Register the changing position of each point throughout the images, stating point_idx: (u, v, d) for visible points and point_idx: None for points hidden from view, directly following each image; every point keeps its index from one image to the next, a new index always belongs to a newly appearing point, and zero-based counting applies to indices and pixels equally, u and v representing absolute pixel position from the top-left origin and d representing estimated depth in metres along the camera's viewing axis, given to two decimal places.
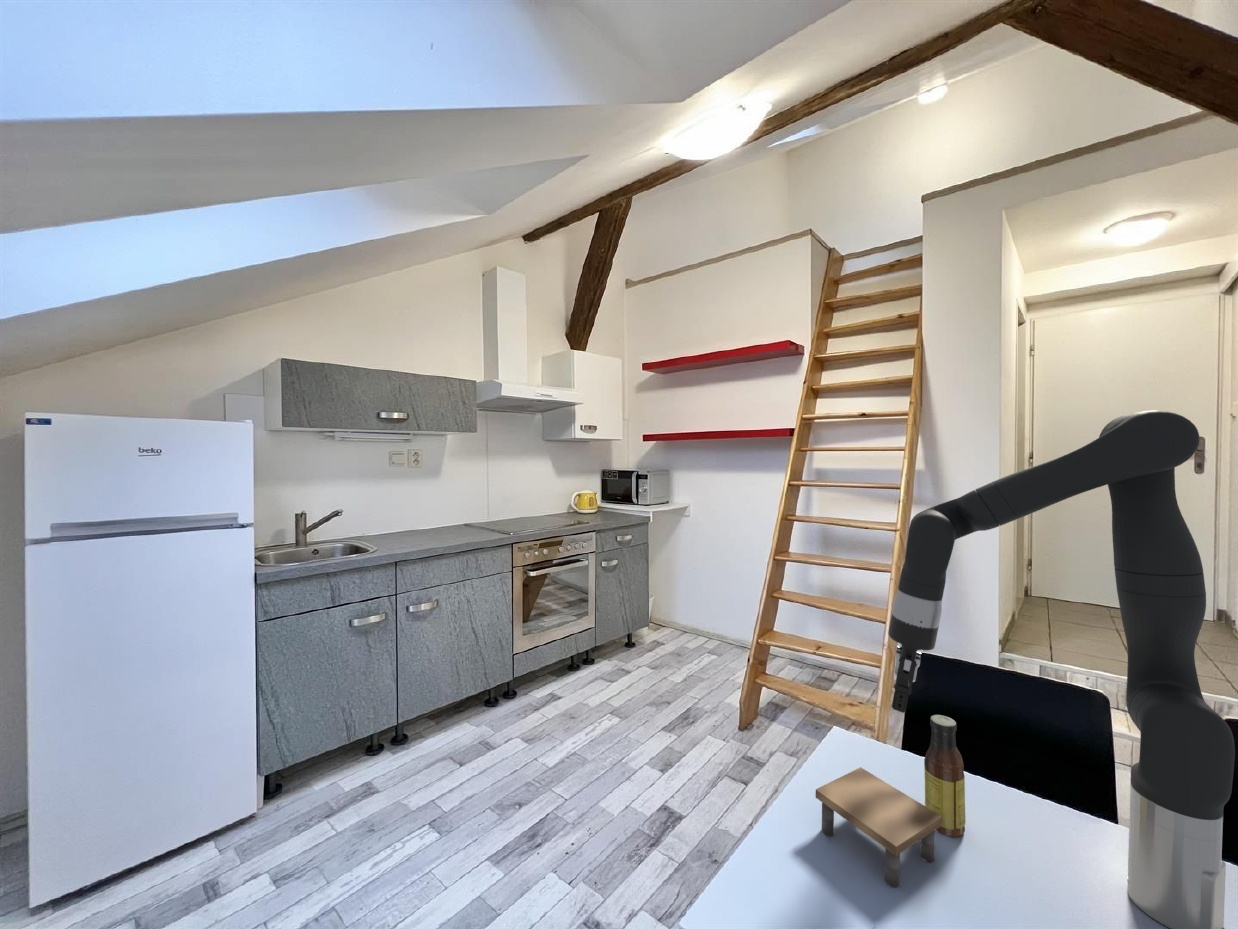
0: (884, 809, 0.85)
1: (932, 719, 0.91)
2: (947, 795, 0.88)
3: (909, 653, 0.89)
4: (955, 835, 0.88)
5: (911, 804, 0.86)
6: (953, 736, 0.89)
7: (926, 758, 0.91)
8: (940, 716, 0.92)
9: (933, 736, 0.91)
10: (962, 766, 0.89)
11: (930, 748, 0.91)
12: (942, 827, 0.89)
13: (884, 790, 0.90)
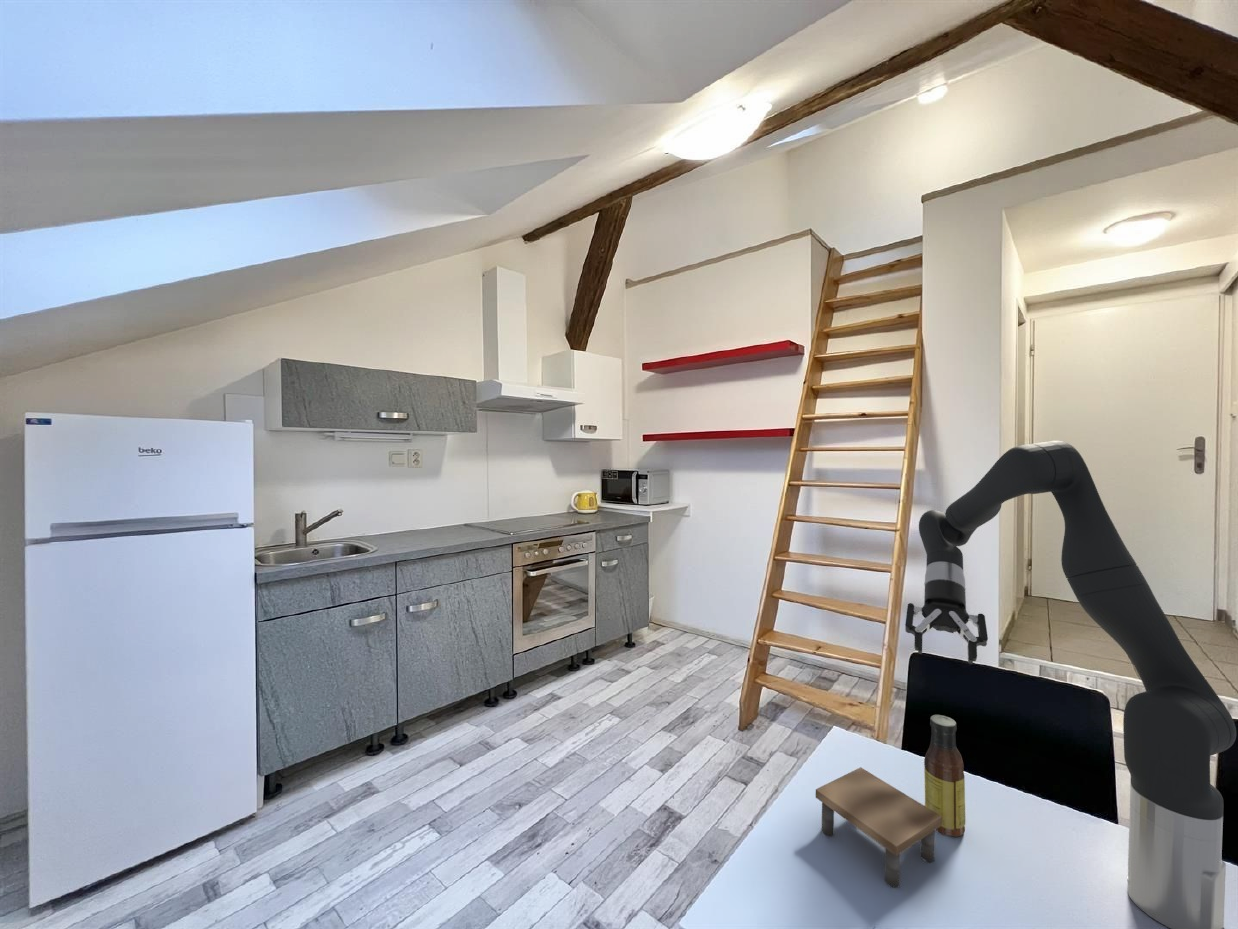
0: (884, 809, 0.85)
1: (932, 719, 0.91)
2: (947, 795, 0.88)
3: None
4: (955, 835, 0.88)
5: (911, 804, 0.86)
6: (953, 736, 0.89)
7: (926, 758, 0.91)
8: (940, 716, 0.92)
9: (933, 736, 0.91)
10: (962, 766, 0.89)
11: (930, 748, 0.91)
12: (942, 827, 0.89)
13: (884, 790, 0.90)
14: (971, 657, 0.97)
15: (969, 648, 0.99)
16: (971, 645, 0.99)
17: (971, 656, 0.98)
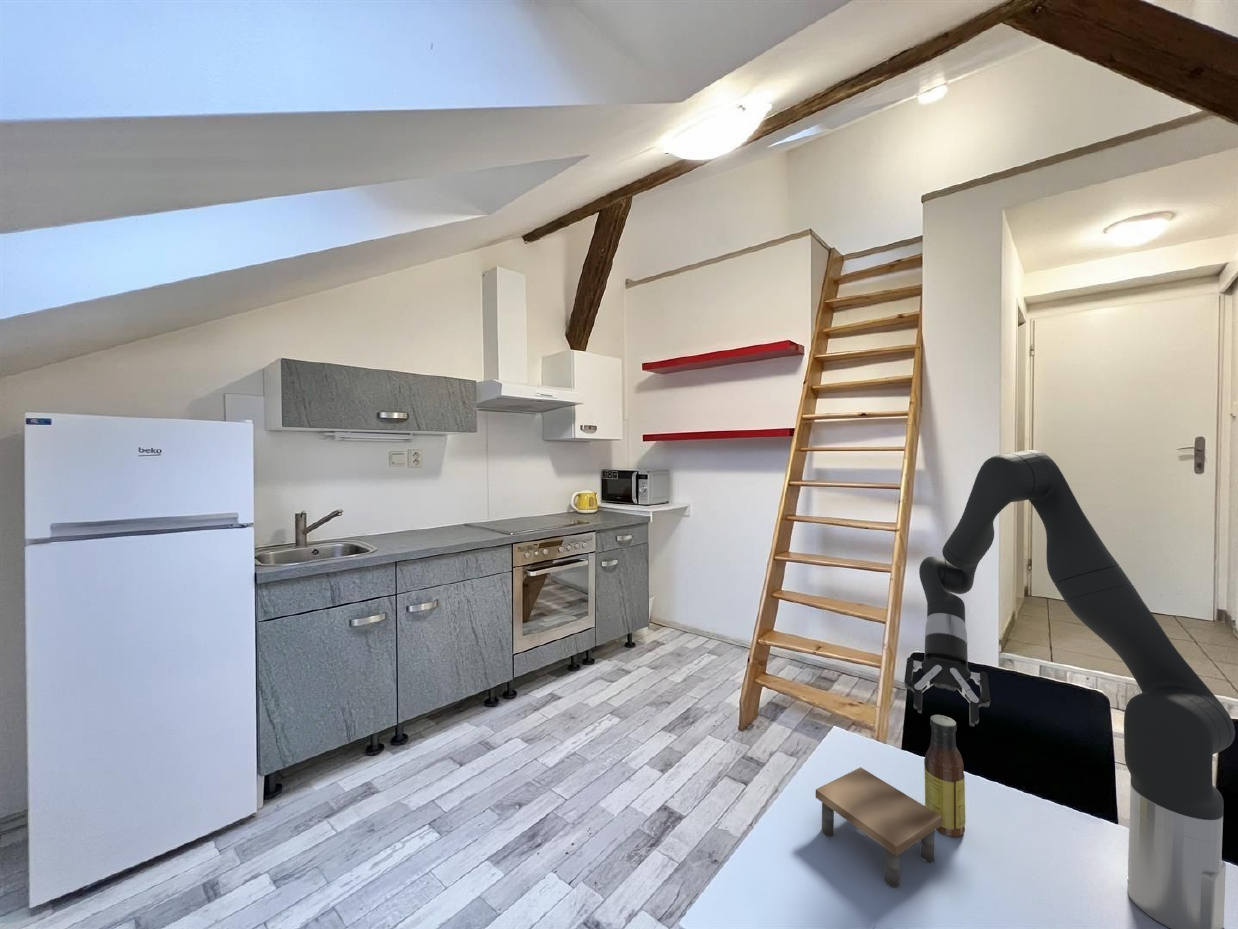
0: (884, 809, 0.85)
1: (932, 719, 0.91)
2: (947, 795, 0.88)
3: None
4: (955, 835, 0.88)
5: (911, 804, 0.86)
6: (953, 736, 0.89)
7: (926, 758, 0.91)
8: (940, 716, 0.92)
9: (933, 736, 0.91)
10: (962, 766, 0.89)
11: (930, 748, 0.91)
12: (942, 827, 0.89)
13: (884, 790, 0.90)
14: (973, 720, 0.93)
15: (971, 710, 0.94)
16: (973, 706, 0.95)
17: (973, 719, 0.93)
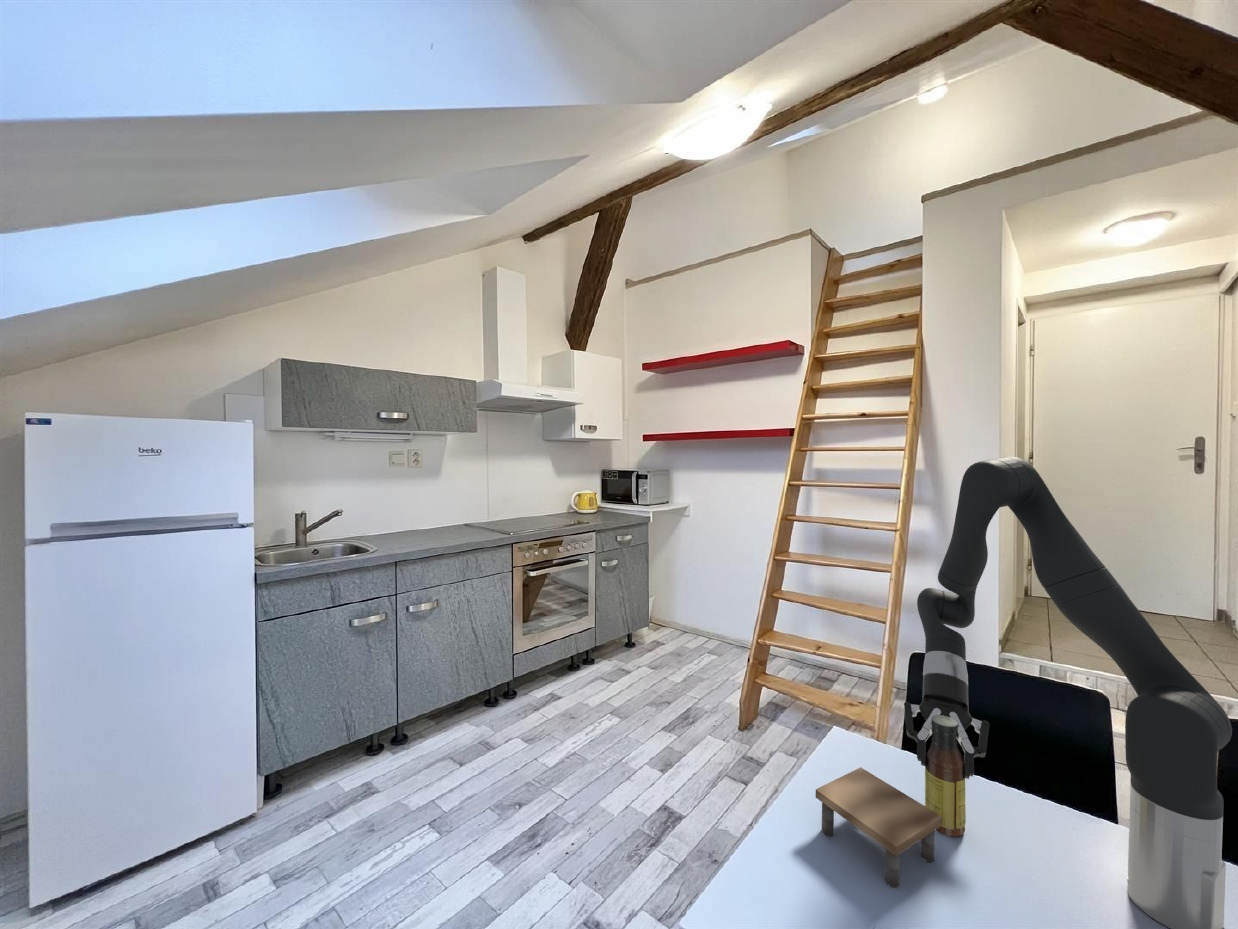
0: (884, 809, 0.85)
1: (933, 719, 0.91)
2: (947, 795, 0.88)
3: None
4: (955, 835, 0.88)
5: (911, 804, 0.86)
6: (954, 736, 0.89)
7: (927, 758, 0.91)
8: (941, 716, 0.92)
9: (934, 736, 0.91)
10: (963, 766, 0.88)
11: (931, 748, 0.91)
12: (942, 827, 0.89)
13: (884, 790, 0.90)
14: (967, 772, 0.87)
15: (965, 761, 0.88)
16: (968, 757, 0.89)
17: (967, 771, 0.87)
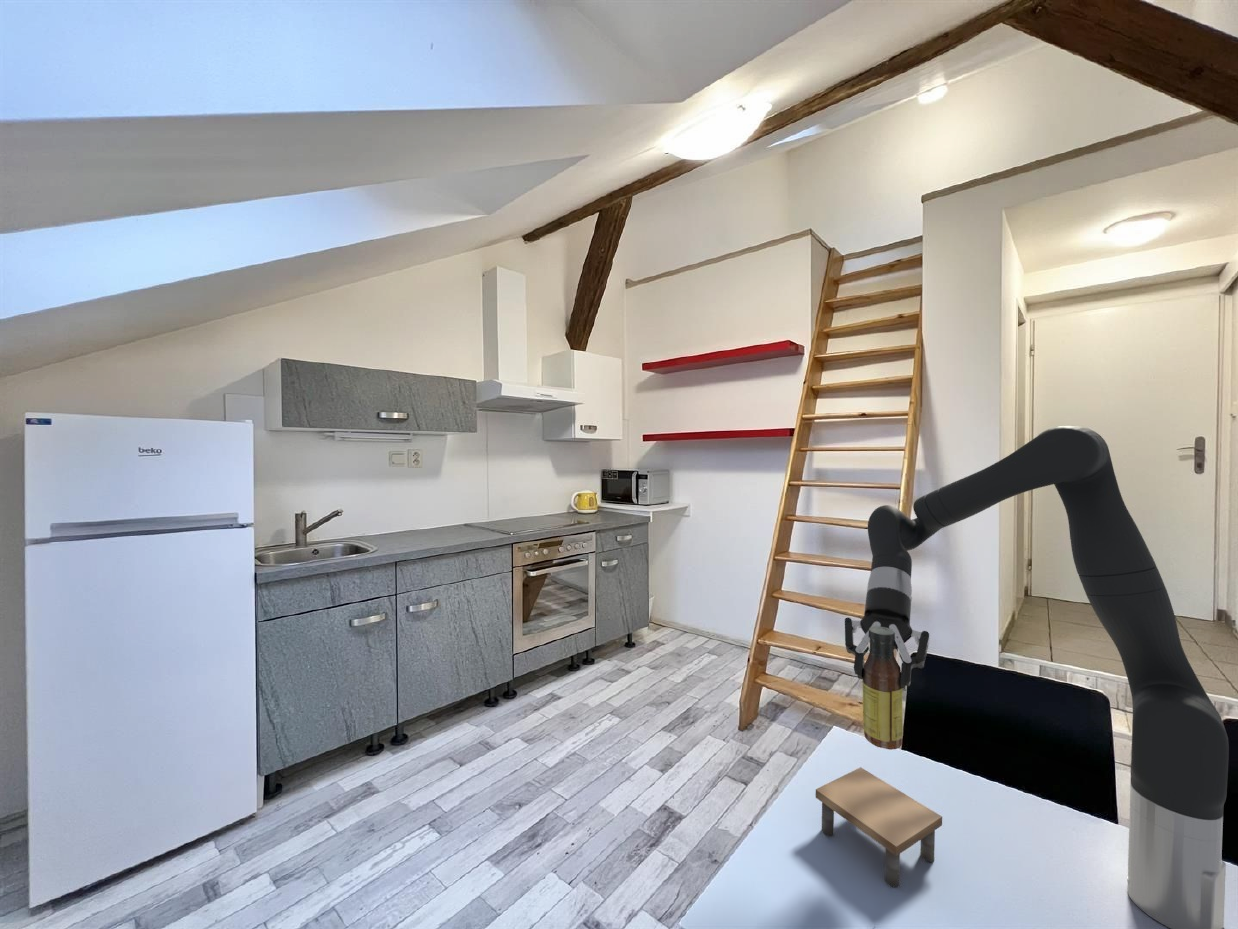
0: (884, 809, 0.85)
1: (870, 629, 0.87)
2: (883, 705, 0.84)
3: None
4: (891, 748, 0.84)
5: (911, 804, 0.86)
6: (890, 645, 0.85)
7: (864, 670, 0.87)
8: (879, 627, 0.88)
9: (871, 647, 0.87)
10: (899, 676, 0.84)
11: (868, 659, 0.87)
12: (878, 740, 0.85)
13: (884, 790, 0.90)
14: (903, 681, 0.83)
15: (902, 670, 0.84)
16: (904, 667, 0.85)
17: (903, 680, 0.83)
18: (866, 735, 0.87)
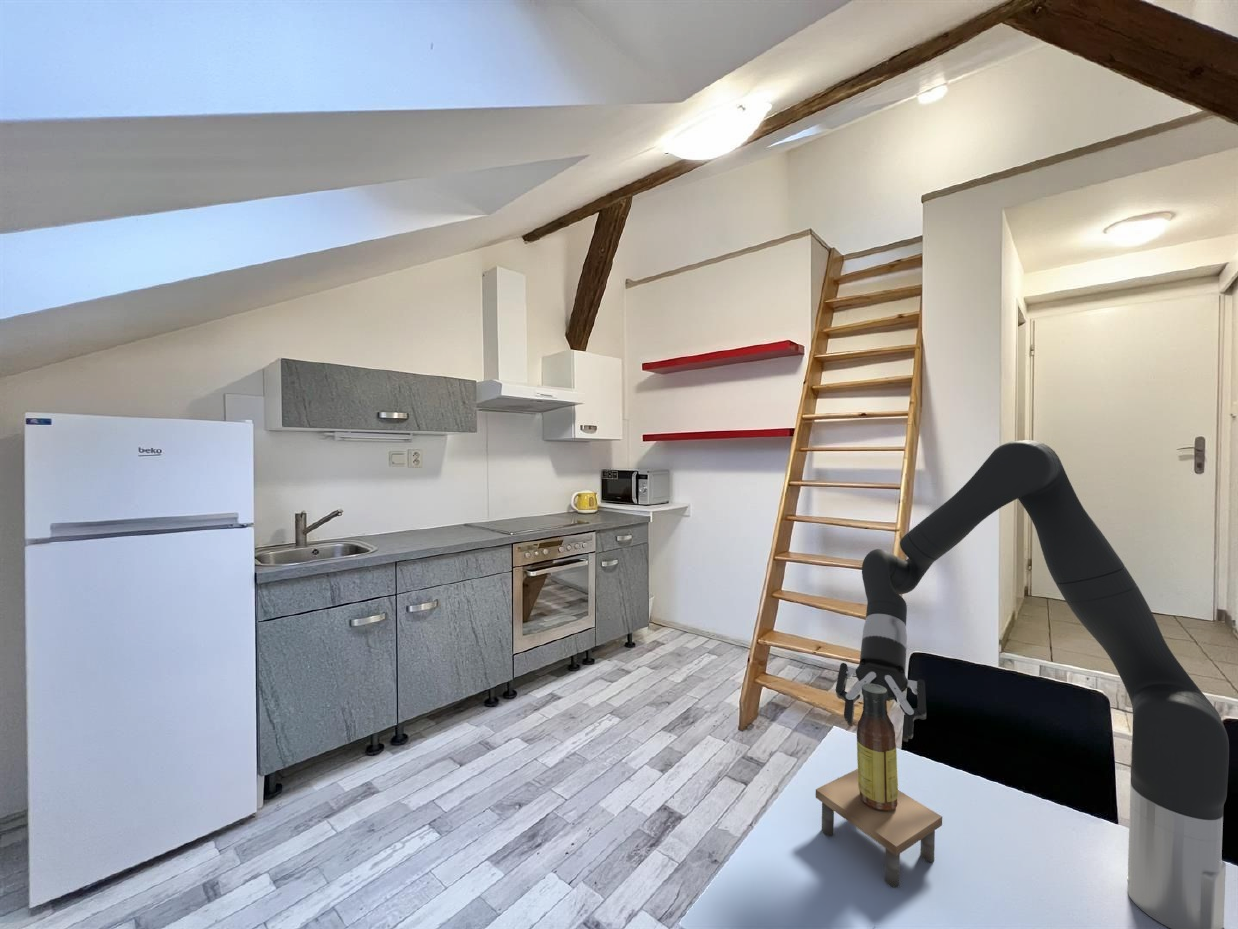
0: None
1: (863, 687, 0.87)
2: (877, 765, 0.84)
3: None
4: (886, 809, 0.84)
5: (911, 804, 0.86)
6: (883, 704, 0.85)
7: (857, 728, 0.87)
8: (872, 684, 0.88)
9: (864, 705, 0.87)
10: (893, 735, 0.85)
11: (861, 717, 0.87)
12: (873, 801, 0.85)
13: None
14: (906, 734, 0.83)
15: (904, 723, 0.84)
16: (907, 719, 0.84)
17: (906, 733, 0.83)
18: (861, 795, 0.87)
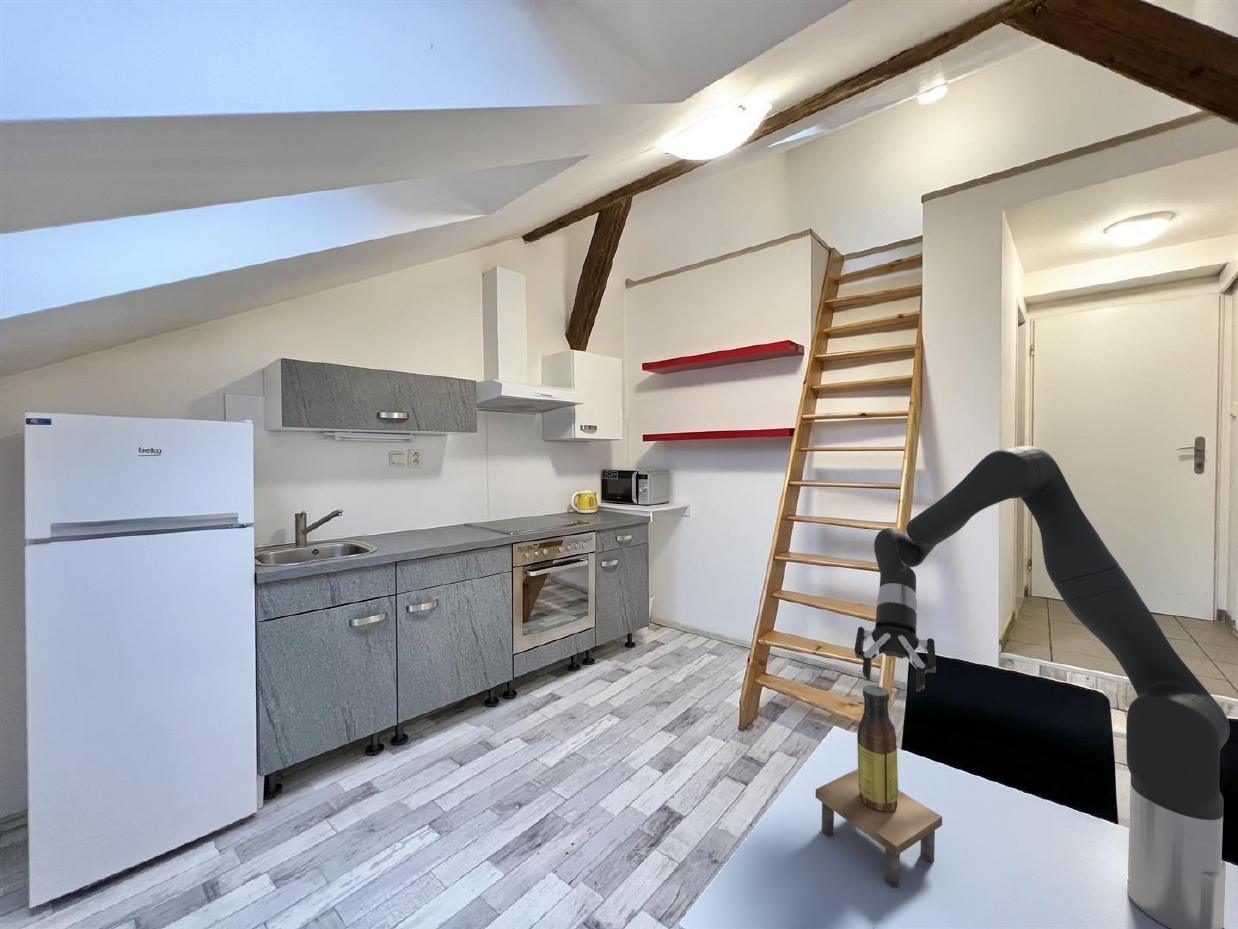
0: None
1: (864, 689, 0.87)
2: (877, 767, 0.84)
3: None
4: (886, 810, 0.84)
5: (911, 804, 0.86)
6: (885, 706, 0.85)
7: (858, 730, 0.87)
8: (873, 686, 0.88)
9: (865, 707, 0.87)
10: (894, 738, 0.84)
11: (862, 719, 0.87)
12: (873, 802, 0.85)
13: None
14: (918, 685, 0.94)
15: (917, 675, 0.95)
16: (919, 672, 0.95)
17: (918, 684, 0.94)
18: (861, 796, 0.87)
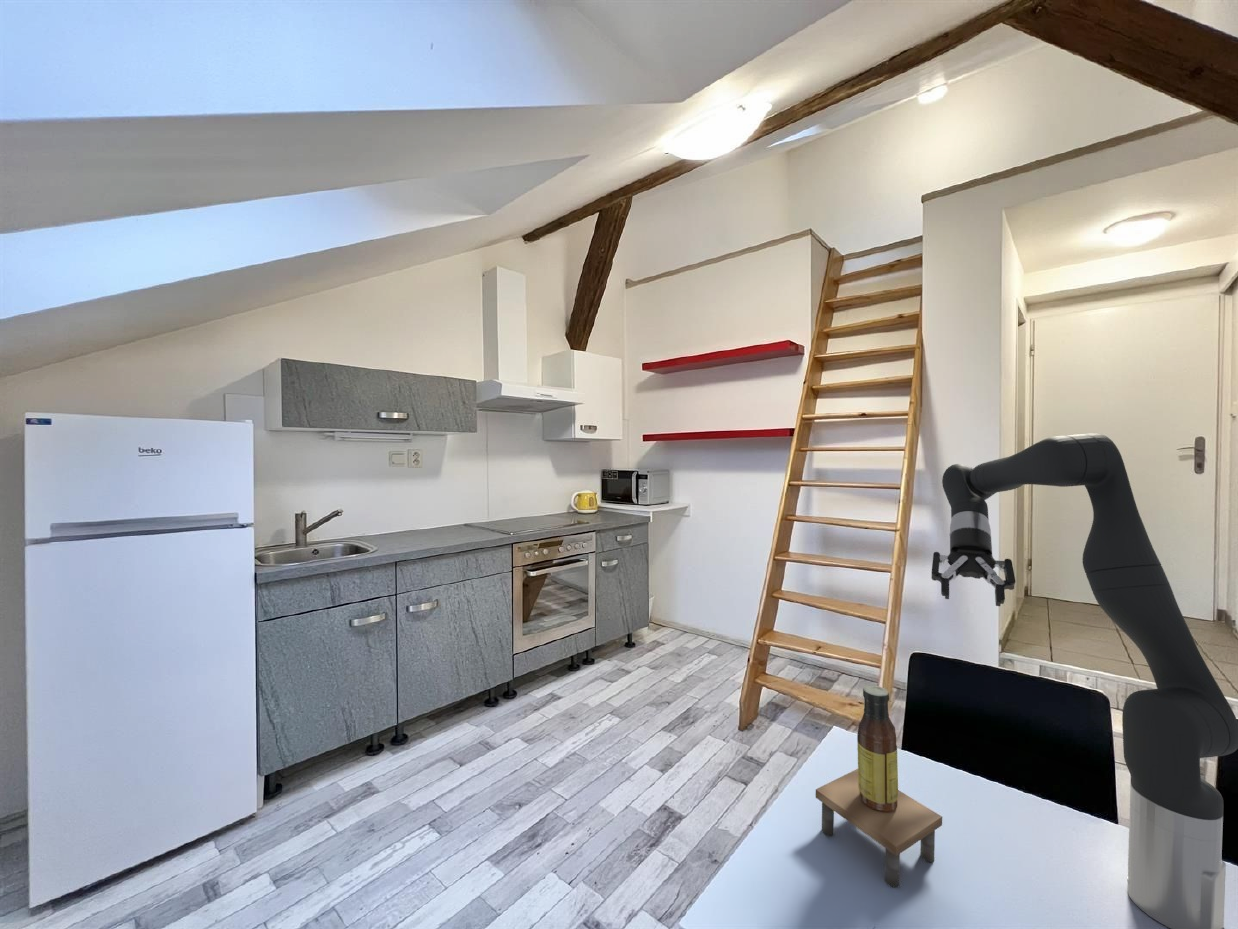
0: None
1: (864, 689, 0.87)
2: (878, 768, 0.84)
3: None
4: (886, 810, 0.84)
5: (911, 804, 0.86)
6: (885, 706, 0.85)
7: (858, 730, 0.87)
8: (873, 686, 0.88)
9: (865, 707, 0.86)
10: (894, 738, 0.84)
11: (862, 719, 0.87)
12: (873, 802, 0.85)
13: None
14: (999, 599, 0.98)
15: (997, 591, 0.99)
16: (999, 588, 1.00)
17: (999, 598, 0.98)
18: (861, 796, 0.87)
